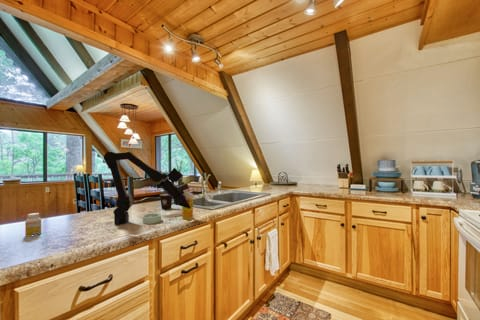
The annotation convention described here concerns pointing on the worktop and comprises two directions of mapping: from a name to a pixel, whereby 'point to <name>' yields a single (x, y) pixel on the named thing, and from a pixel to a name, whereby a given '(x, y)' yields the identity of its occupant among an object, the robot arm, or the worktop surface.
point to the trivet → (172, 213)
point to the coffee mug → (166, 201)
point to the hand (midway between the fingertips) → (189, 206)
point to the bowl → (151, 218)
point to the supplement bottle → (33, 224)
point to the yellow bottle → (188, 212)
